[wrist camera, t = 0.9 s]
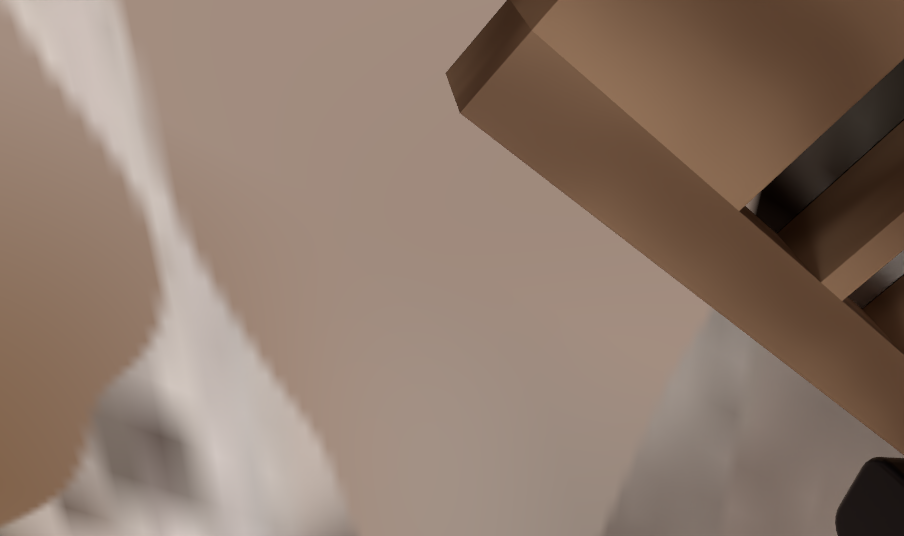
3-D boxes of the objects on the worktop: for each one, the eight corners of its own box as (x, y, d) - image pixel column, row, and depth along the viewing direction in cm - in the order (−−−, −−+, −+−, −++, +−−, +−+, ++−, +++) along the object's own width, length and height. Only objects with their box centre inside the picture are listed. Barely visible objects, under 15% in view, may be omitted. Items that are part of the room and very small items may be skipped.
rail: (917, 446, 29) (962, 500, 27) (445, 73, 20) (459, 113, 18) (1185, 250, 26) (1261, 294, 24) (772, -315, 16) (837, -323, 14)
